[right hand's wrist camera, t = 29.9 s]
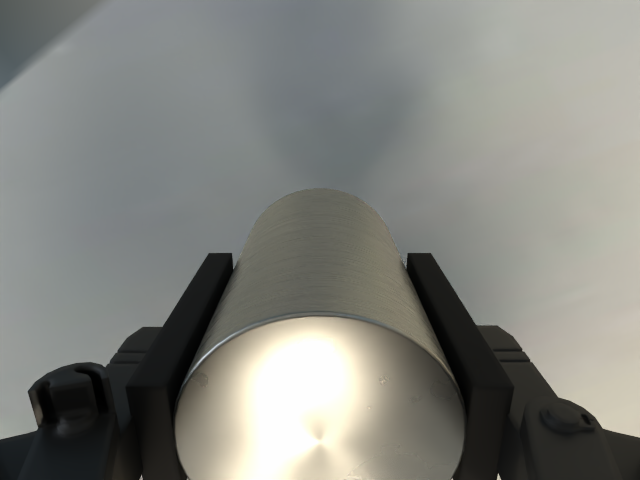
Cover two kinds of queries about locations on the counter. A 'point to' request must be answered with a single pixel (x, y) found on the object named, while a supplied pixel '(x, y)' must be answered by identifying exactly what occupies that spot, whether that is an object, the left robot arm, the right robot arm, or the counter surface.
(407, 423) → the can
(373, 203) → the counter surface
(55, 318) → the counter surface
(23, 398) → the counter surface
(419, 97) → the counter surface
